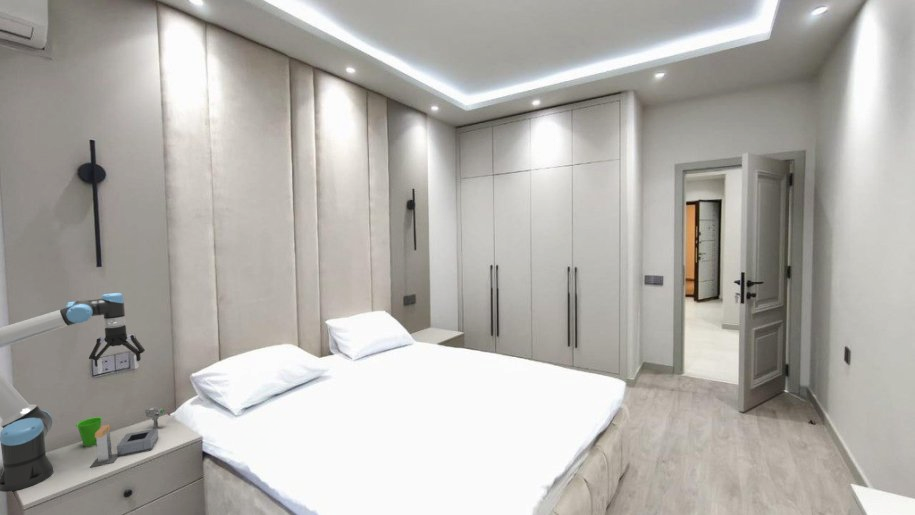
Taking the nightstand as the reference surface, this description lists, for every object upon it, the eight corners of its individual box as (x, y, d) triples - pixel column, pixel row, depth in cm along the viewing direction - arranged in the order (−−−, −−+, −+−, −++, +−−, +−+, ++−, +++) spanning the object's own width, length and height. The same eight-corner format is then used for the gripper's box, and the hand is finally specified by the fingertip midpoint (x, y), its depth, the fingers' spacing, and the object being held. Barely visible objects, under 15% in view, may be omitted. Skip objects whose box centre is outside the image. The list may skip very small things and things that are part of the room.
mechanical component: (161, 429, 200) (160, 410, 199) (145, 428, 202) (143, 409, 201) (166, 426, 203) (165, 407, 202) (150, 425, 205) (149, 406, 204)
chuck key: (96, 465, 168) (93, 433, 168) (104, 456, 176) (101, 425, 175) (106, 463, 170) (103, 431, 169) (113, 454, 177) (111, 423, 176)
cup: (109, 439, 192) (107, 417, 191) (90, 449, 183) (88, 426, 182) (92, 438, 193) (90, 416, 192) (72, 448, 184) (70, 425, 183)
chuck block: (117, 457, 175) (116, 446, 175) (126, 444, 186) (126, 434, 186) (151, 450, 180) (150, 439, 180) (158, 438, 191) (157, 428, 191)
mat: (89, 467, 168) (89, 466, 168) (97, 458, 175) (97, 457, 175) (113, 462, 171) (113, 461, 171) (120, 453, 178) (120, 452, 178)
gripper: (76, 331, 177) (81, 377, 178) (145, 324, 187) (149, 368, 189) (84, 327, 184) (88, 372, 185) (150, 321, 194) (153, 363, 196)
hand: (119, 370), depth 187 cm, fingers open, 13 cm apart
